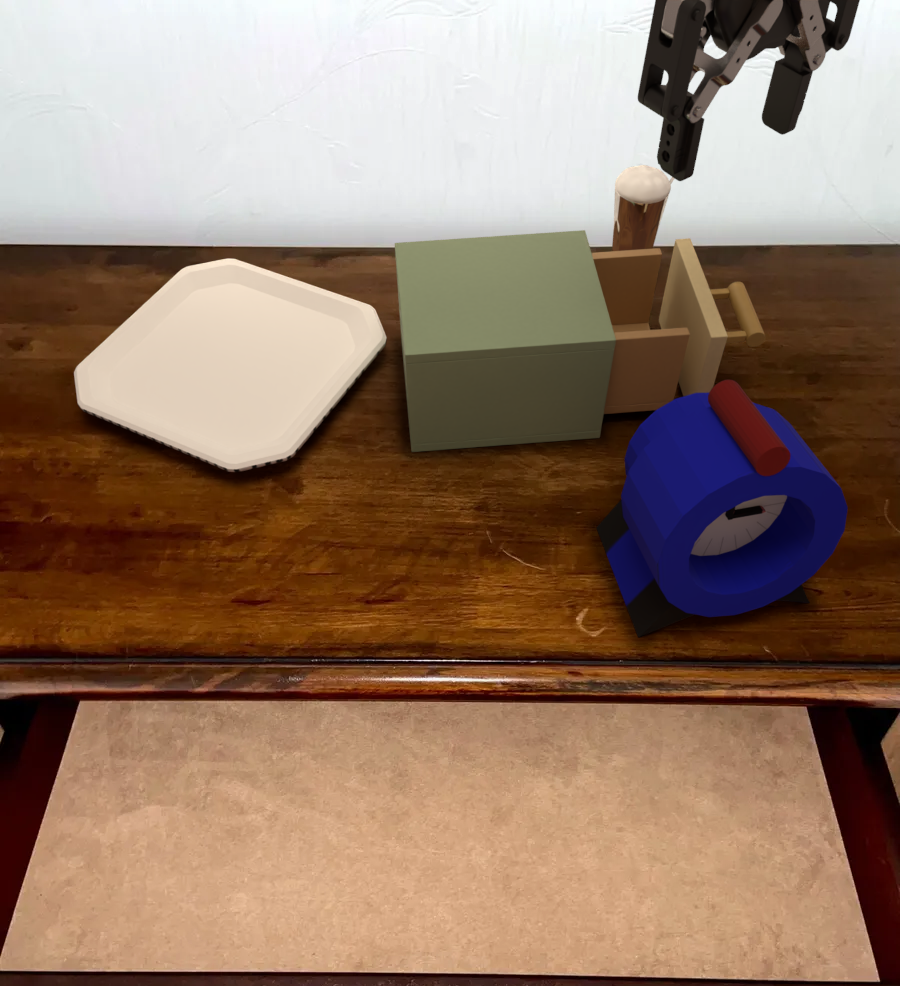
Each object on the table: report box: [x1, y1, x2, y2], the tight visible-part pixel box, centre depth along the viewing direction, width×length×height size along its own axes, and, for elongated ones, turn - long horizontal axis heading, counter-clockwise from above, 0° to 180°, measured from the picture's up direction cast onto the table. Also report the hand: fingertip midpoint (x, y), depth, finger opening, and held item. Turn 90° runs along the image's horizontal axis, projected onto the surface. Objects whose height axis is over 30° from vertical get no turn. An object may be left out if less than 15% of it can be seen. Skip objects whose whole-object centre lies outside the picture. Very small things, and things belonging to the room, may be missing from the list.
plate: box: [73, 258, 388, 473], centre depth 77 cm, size 21×21×2 cm
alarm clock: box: [596, 379, 848, 638], centre depth 60 cm, size 12×12×15 cm
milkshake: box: [611, 164, 676, 251], centre depth 81 cm, size 4×5×10 cm
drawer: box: [591, 237, 766, 415], centre depth 73 cm, size 18×11×8 cm, turn 95°
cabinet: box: [394, 229, 616, 453], centre depth 72 cm, size 15×13×10 cm
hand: (727, 150), depth 58 cm, fingers open, 8 cm apart
